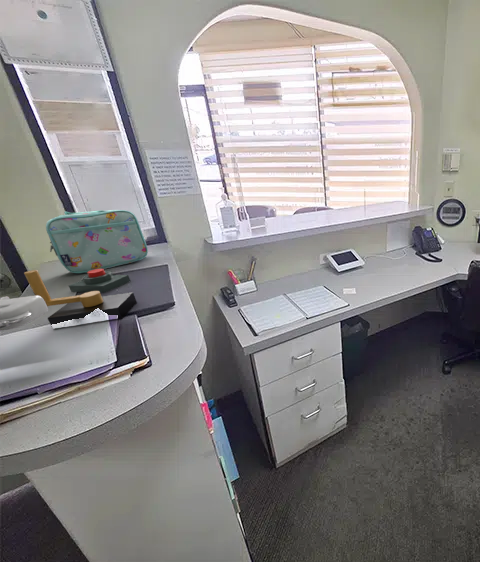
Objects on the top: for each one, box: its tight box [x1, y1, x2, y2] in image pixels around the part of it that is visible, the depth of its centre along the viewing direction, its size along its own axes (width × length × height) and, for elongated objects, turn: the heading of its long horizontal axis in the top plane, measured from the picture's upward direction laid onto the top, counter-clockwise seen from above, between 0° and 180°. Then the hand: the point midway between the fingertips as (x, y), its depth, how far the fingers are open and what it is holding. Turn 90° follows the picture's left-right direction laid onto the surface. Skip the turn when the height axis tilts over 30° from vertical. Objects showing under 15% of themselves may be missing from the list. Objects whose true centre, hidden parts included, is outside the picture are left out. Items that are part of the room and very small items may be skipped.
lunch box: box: [45, 209, 149, 274], centre depth 114 cm, size 27×10×21 cm, turn 136°
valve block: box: [47, 291, 138, 326], centre depth 79 cm, size 14×10×3 cm
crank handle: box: [23, 269, 103, 307], centre depth 75 cm, size 12×4×10 cm, turn 108°
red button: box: [86, 269, 106, 278], centre depth 97 cm, size 4×4×2 cm
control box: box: [67, 270, 131, 293], centre depth 98 cm, size 12×9×4 cm
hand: (1, 300), depth 62 cm, fingers closed
